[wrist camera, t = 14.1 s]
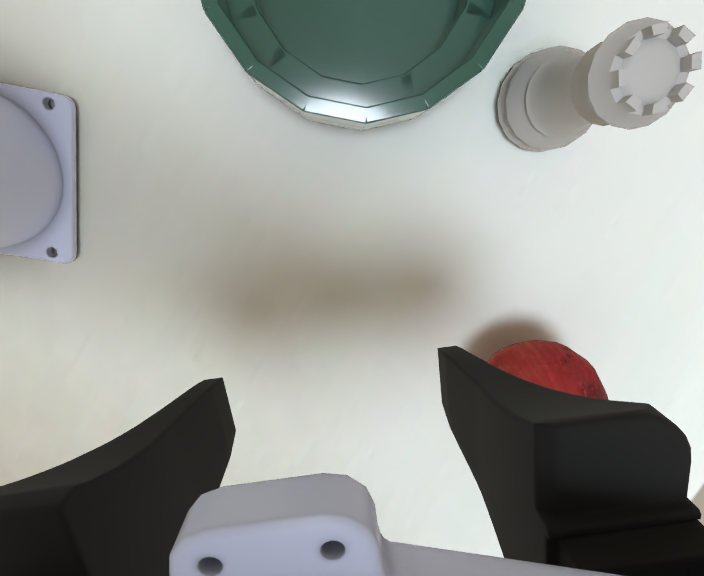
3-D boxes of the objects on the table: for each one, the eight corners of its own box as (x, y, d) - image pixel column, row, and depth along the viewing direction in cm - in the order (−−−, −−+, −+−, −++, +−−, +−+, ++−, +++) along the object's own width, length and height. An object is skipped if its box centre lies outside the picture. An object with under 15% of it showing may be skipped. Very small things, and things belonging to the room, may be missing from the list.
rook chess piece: (497, 51, 20) (598, -17, 12) (592, 51, 20) (752, -18, 12) (490, 153, 21) (576, 148, 13) (578, 151, 21) (715, 146, 13)
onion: (533, 298, 23) (629, 366, 16) (575, 377, 25) (681, 474, 17) (441, 352, 24) (489, 441, 16) (487, 424, 26) (551, 538, 18)
